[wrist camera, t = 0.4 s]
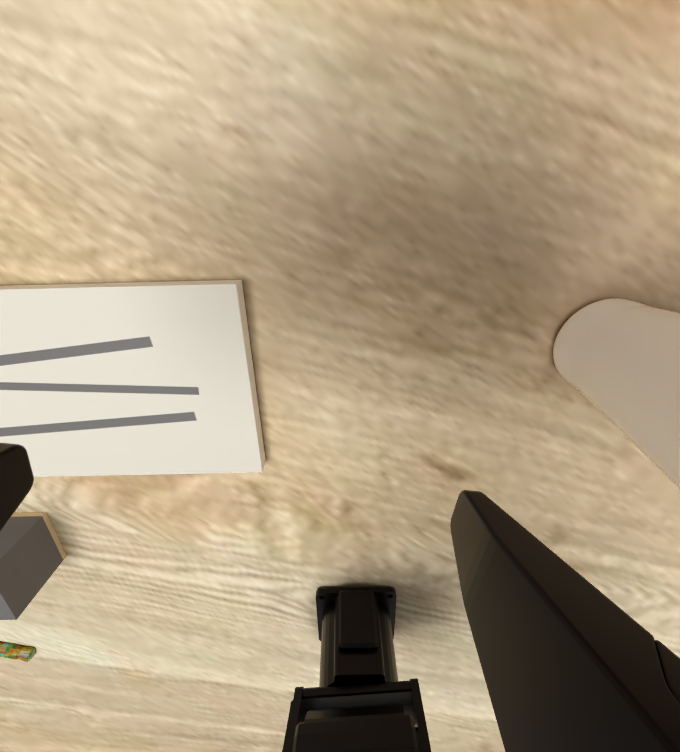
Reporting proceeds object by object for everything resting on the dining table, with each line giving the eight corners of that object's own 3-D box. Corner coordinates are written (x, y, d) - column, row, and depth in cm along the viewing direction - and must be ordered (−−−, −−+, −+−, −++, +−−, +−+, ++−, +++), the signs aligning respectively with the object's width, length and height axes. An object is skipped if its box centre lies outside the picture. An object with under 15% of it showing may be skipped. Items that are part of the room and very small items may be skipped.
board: (265, 460, 25) (262, 472, 24) (-28, 466, 25) (-45, 478, 24) (241, 279, 20) (235, 283, 19) (-126, 288, 20) (-153, 293, 19)
